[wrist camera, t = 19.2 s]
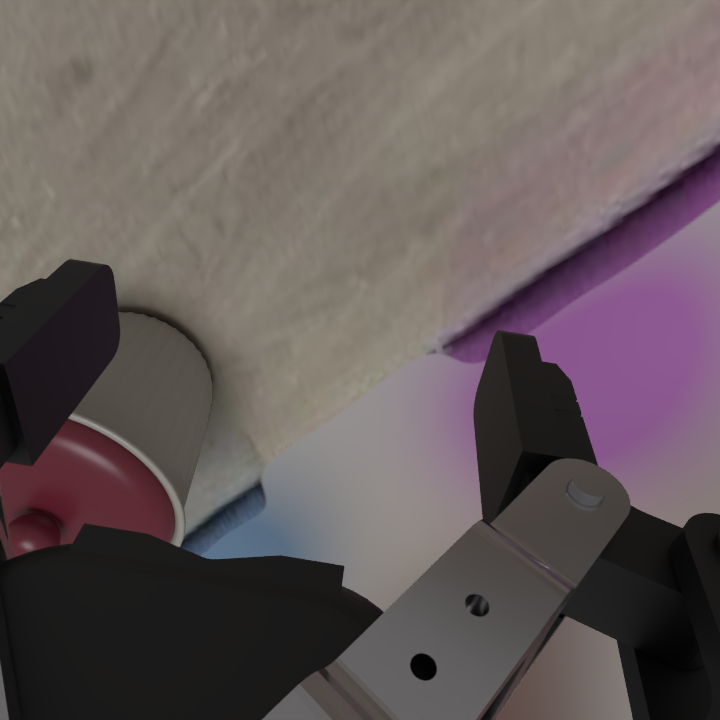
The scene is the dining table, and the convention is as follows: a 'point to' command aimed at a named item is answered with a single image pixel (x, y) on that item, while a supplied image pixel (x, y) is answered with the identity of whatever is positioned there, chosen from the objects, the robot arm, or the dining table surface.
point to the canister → (119, 446)
